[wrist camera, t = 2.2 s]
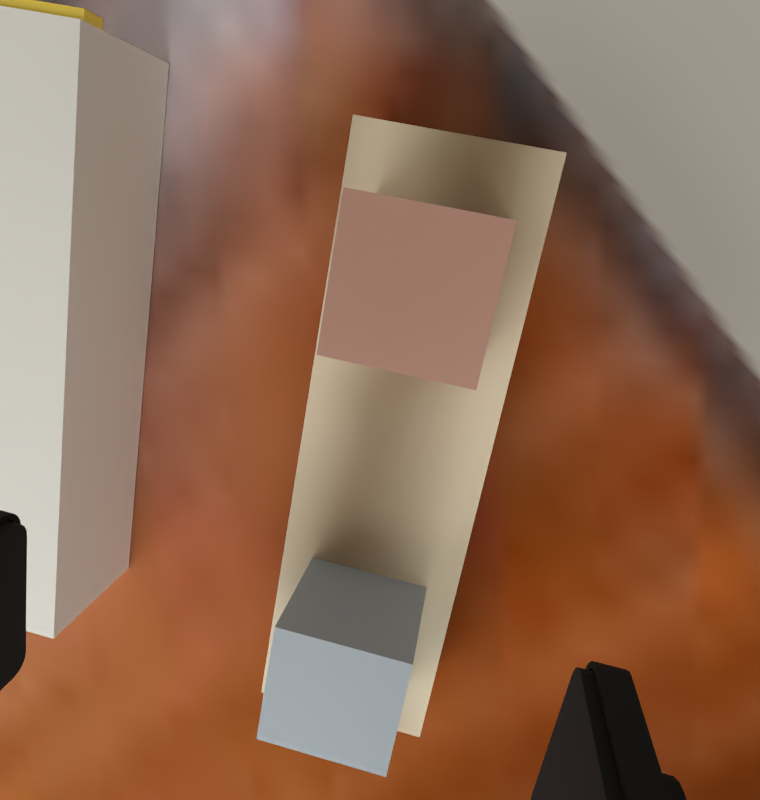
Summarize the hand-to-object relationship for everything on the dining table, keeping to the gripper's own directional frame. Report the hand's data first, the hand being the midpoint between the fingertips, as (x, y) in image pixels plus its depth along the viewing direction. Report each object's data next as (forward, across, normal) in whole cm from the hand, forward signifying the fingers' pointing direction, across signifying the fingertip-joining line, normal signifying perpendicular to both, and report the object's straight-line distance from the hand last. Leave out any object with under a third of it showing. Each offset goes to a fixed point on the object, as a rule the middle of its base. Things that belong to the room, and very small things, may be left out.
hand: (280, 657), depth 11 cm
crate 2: (+10, 0, +7) cm, 12 cm away
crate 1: (+11, 0, -5) cm, 12 cm away
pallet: (+14, 0, +1) cm, 15 cm away
